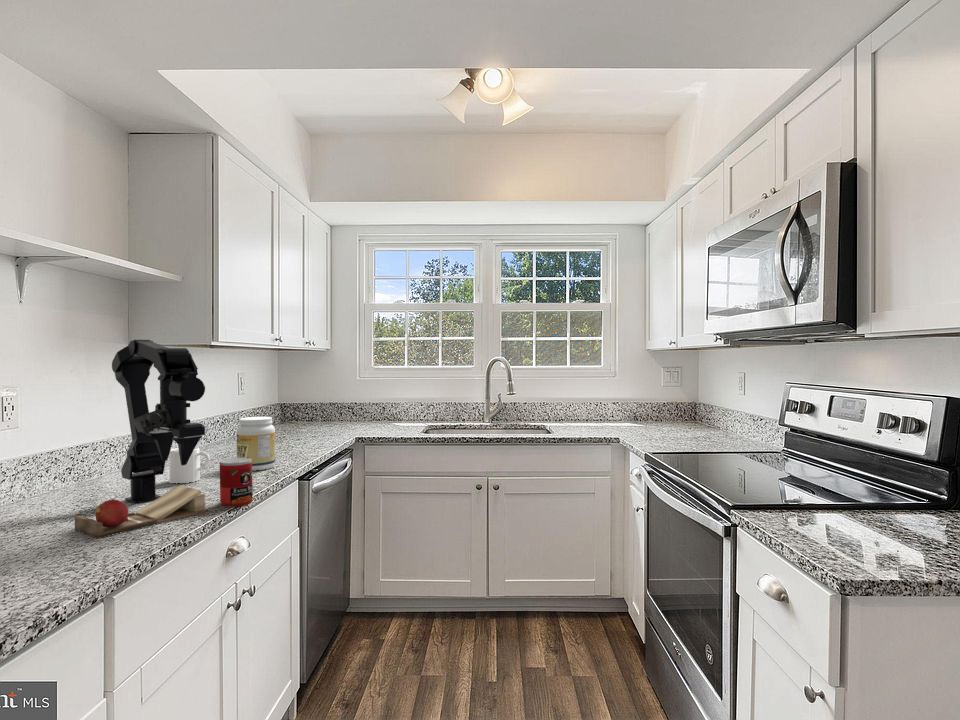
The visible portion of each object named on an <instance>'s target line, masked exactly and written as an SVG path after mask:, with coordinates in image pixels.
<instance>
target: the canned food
mask: <svg viewBox="0 0 960 720" xmlns="http://www.w3.org/2000/svg"><path fill="white" fill-rule="evenodd" d="M253 486H254V485H253V471H252V459H250V458H237V457H231V458H226V459H222V460H220V461H219V495H220V496H219V497H220V498H219V501H220V505H221V506H223V507H226V506H227V507H229V508H230V507H231V508H235V507H243V506H245V505H249V504H251V503H252V502H253V498H254V495H253V493H254V491H253V488H254V487H253ZM227 507H226V508H227Z"/></svg>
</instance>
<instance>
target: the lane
mask: <svg viewBox="0 0 960 720" xmlns="http://www.w3.org/2000/svg"><path fill="white" fill-rule="evenodd" d="M204 513H205V512H204V510H200V511H196V512H194V511H190V510H187V509H183V508H178V509H177V510H175V511H174V512H172V513H171V514H169V515H168V516H166V517H165V518H164V519H162V520H157V519H152V518H148V517H145V516H142V515H138V514H136V512H131V513H129V512H128V521H125V522H124V523H122V524H121V525H119V526H116V527H111V528H108V527H104V526H103V523H101V522H98V521H97V520H95V519H92V518H89V517H86V516H83V515H75V516H74V531H76V530H77V531H76V532H79V531H80V532H79V533H81V532H83V533H82V534H84V533H85V535H87V534H88V535H87V536H89V535H90V537H92V536H93V537H92V538H95V537H96V538H95V539H97V538H98V539H100V538H99V537H102V538H105V537H104V536H106V537H109V536H108V535H110V536H113V535H112V534H114V535H117V534H116V533H118V534H121V533H120V532H122V533H125V532H124V531H126V532H130V531H129V530H131V531H134V529H135V530H138V529H143V528H146V526H147V527H151V526H155V525H159V524H163V523H167V522H172V521H175V519H176V520H179V518H180V519H183V517H184V518H188V517H190V516H191V515H192V516H195V515H196V516H197V515H200V514H204ZM187 516H188V517H187ZM171 520H172V521H171ZM162 522H163V523H162ZM158 523H159V524H158ZM154 524H155V525H154ZM142 527H143V528H142Z"/></svg>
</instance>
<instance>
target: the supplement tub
mask: <svg viewBox="0 0 960 720" xmlns="http://www.w3.org/2000/svg"><path fill="white" fill-rule="evenodd" d="M238 424H239V425H240V426H238V428H236V458H250V459H252V472H257V471H256V470H259V471H264V470H265V469H266V470H270V469H272V468H274V467H275V465H276V428H275V425H272V424H273V417H272V416H247V417H242V418H241V417H240V418H239V422H238Z"/></svg>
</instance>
